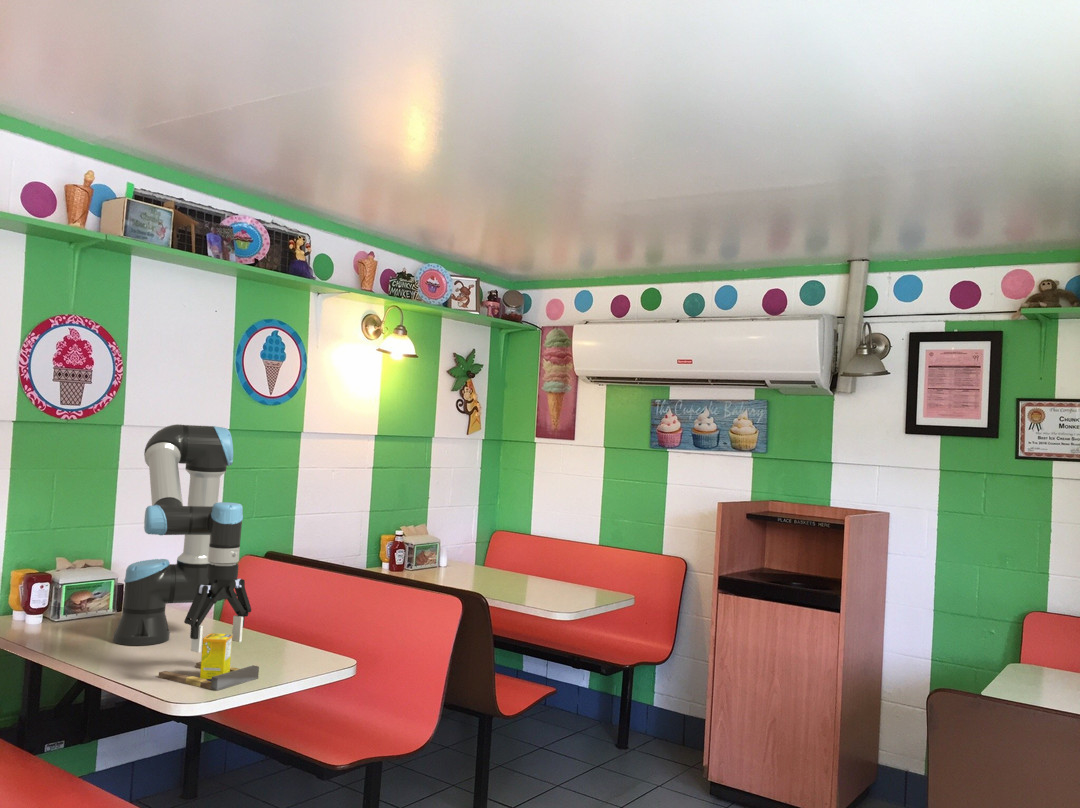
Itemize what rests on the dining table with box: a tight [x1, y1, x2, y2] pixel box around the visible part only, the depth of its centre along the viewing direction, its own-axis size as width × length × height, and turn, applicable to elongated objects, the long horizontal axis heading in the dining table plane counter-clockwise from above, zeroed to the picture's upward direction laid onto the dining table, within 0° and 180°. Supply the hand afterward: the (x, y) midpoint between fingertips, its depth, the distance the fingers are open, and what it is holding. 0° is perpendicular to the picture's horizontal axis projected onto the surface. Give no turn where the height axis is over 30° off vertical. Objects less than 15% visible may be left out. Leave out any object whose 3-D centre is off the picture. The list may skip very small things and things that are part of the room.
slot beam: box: [158, 661, 260, 692], centre depth 219 cm, size 20×14×3 cm
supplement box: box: [199, 632, 233, 681], centre depth 218 cm, size 6×6×11 cm
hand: (216, 646), depth 219 cm, fingers open, 13 cm apart
